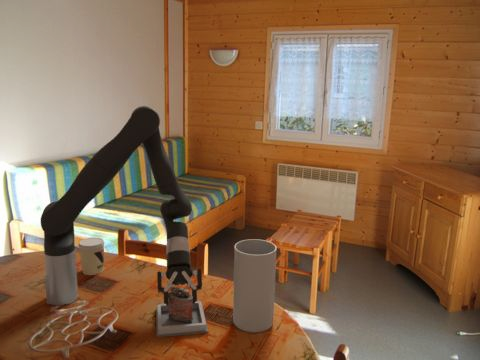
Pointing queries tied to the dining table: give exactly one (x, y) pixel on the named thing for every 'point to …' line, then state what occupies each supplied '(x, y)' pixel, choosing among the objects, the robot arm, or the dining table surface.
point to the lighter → (180, 304)
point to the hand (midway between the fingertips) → (180, 304)
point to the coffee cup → (92, 255)
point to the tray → (180, 322)
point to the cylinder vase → (254, 285)
